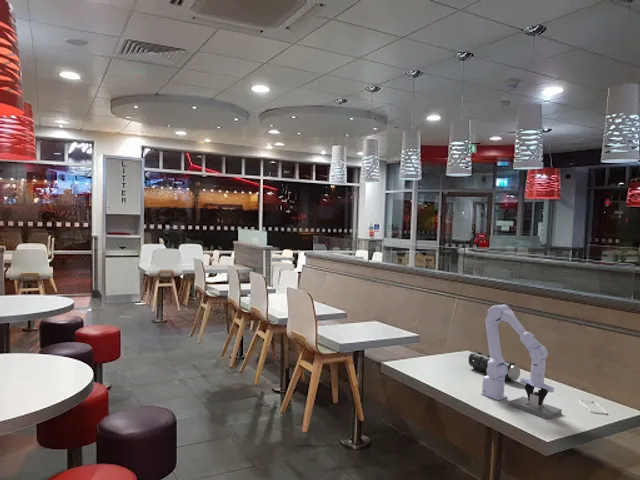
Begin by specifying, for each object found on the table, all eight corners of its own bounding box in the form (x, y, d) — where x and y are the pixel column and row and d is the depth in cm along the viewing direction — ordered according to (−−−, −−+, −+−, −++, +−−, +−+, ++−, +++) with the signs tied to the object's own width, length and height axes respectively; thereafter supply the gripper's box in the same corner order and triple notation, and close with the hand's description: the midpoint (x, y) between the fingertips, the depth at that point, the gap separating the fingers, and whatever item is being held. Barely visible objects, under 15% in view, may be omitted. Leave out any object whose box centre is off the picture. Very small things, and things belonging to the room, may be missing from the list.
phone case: (607, 415, 214) (594, 403, 229) (608, 412, 214) (595, 401, 229) (590, 413, 215) (578, 401, 230) (590, 410, 215) (578, 399, 230)
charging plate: (509, 405, 218) (509, 400, 218) (522, 400, 226) (523, 396, 226) (548, 419, 204) (548, 414, 204) (561, 413, 212) (561, 409, 212)
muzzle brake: (478, 367, 278) (480, 349, 278) (520, 382, 254) (521, 363, 254) (467, 369, 273) (468, 351, 273) (508, 384, 249) (510, 365, 249)
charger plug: (528, 407, 216) (530, 391, 215) (533, 405, 218) (534, 390, 218) (537, 410, 212) (538, 394, 212) (542, 408, 215) (543, 393, 215)
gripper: (517, 370, 218) (515, 399, 218) (549, 379, 206) (546, 410, 207) (525, 368, 222) (523, 396, 223) (557, 376, 211) (554, 407, 211)
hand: (535, 403), depth 215 cm, fingers closed on charger plug, 4 cm apart
